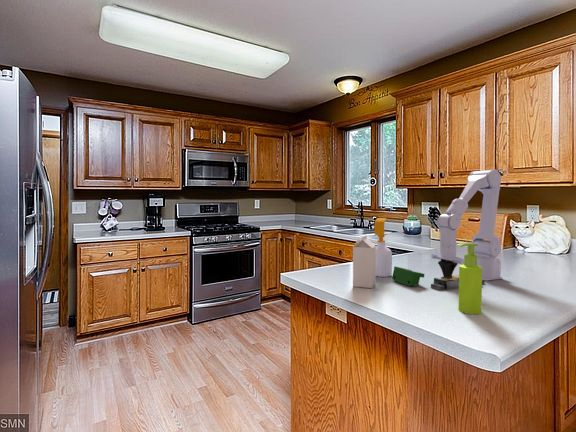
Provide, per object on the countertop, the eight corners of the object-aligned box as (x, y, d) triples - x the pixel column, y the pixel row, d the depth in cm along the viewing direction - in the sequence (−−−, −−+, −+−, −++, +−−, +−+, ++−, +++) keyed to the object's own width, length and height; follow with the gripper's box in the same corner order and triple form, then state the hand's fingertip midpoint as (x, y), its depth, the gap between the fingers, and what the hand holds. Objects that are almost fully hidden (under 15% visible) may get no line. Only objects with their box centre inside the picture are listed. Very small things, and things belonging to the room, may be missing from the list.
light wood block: (458, 282, 131) (458, 274, 131) (465, 285, 128) (466, 276, 128) (440, 285, 128) (440, 276, 128) (448, 287, 125) (448, 278, 125)
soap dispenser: (451, 307, 101) (452, 242, 100) (472, 307, 102) (474, 241, 101) (462, 314, 95) (464, 244, 94) (485, 313, 96) (487, 244, 95)
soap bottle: (394, 273, 147) (394, 217, 145) (388, 278, 139) (388, 219, 138) (374, 271, 151) (374, 217, 150) (367, 275, 144) (367, 218, 142)
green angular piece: (417, 296, 128) (429, 277, 125) (405, 294, 126) (416, 274, 123) (401, 278, 138) (411, 259, 135) (389, 275, 136) (399, 257, 133)
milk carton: (375, 284, 129) (375, 235, 128) (371, 288, 123) (372, 237, 122) (357, 282, 132) (357, 234, 131) (352, 286, 126) (352, 236, 125)
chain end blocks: (471, 280, 134) (471, 273, 134) (485, 284, 128) (485, 276, 128) (427, 286, 125) (427, 278, 125) (440, 290, 120) (440, 282, 120)
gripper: (425, 243, 135) (425, 276, 136) (456, 248, 122) (455, 285, 123) (439, 242, 138) (438, 274, 139) (470, 246, 125) (469, 283, 125)
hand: (447, 279), depth 131 cm, fingers closed
